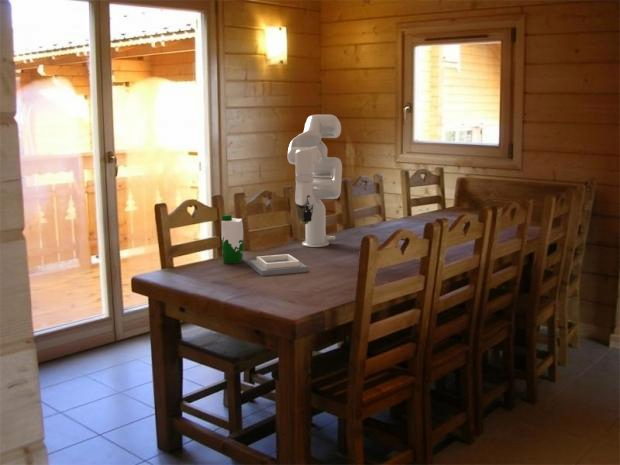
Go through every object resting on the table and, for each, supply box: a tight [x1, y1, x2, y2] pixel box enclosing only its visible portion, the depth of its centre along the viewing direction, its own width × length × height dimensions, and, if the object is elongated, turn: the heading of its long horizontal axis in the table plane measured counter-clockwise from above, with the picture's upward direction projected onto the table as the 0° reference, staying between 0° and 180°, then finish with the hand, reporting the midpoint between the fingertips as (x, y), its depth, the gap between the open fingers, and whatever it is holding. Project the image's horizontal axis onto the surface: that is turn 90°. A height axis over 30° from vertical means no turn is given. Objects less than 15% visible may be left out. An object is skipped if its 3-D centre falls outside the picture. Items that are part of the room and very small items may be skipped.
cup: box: [295, 204, 313, 225], centre depth 308 cm, size 8×7×8 cm
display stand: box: [248, 253, 308, 277], centre depth 295 cm, size 19×19×4 cm
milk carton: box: [220, 213, 244, 264], centre depth 306 cm, size 9×9×20 cm
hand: (304, 219), depth 308 cm, fingers closed on cup, 6 cm apart
